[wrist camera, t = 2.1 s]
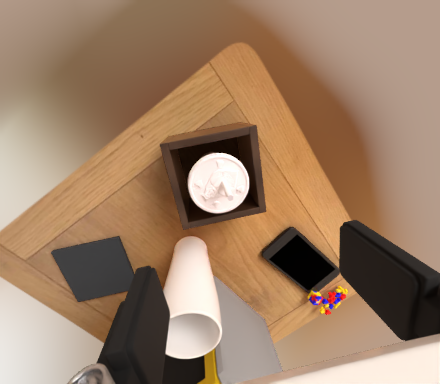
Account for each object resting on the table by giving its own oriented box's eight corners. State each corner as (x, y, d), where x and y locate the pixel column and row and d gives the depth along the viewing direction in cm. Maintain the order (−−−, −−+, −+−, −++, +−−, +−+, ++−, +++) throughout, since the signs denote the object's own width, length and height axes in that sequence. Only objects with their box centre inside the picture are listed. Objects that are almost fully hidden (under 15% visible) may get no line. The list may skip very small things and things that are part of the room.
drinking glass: (219, 248, 36) (236, 333, 22) (190, 272, 37) (188, 369, 23) (191, 222, 34) (190, 299, 20) (160, 249, 35) (138, 340, 21)
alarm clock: (210, 261, 37) (225, 392, 20) (263, 309, 42) (312, 446, 25) (128, 325, 39) (78, 489, 22) (188, 363, 45) (185, 520, 27)
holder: (168, 136, 29) (159, 144, 22) (240, 122, 30) (256, 125, 22) (185, 203, 33) (183, 229, 25) (249, 189, 33) (266, 211, 26)
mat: (53, 250, 33) (50, 252, 32) (119, 235, 33) (118, 237, 33) (79, 299, 36) (78, 302, 36) (139, 285, 37) (138, 288, 36)
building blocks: (351, 289, 42) (344, 282, 43) (323, 288, 39) (316, 281, 40) (334, 314, 44) (328, 307, 45) (306, 315, 40) (300, 308, 42)
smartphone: (310, 294, 42) (313, 298, 41) (258, 253, 37) (260, 256, 36) (340, 269, 41) (343, 272, 40) (290, 223, 36) (292, 225, 35)
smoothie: (242, 167, 32) (276, 205, 19) (208, 194, 33) (218, 248, 20) (215, 132, 30) (232, 147, 17) (179, 161, 30) (169, 198, 17)
